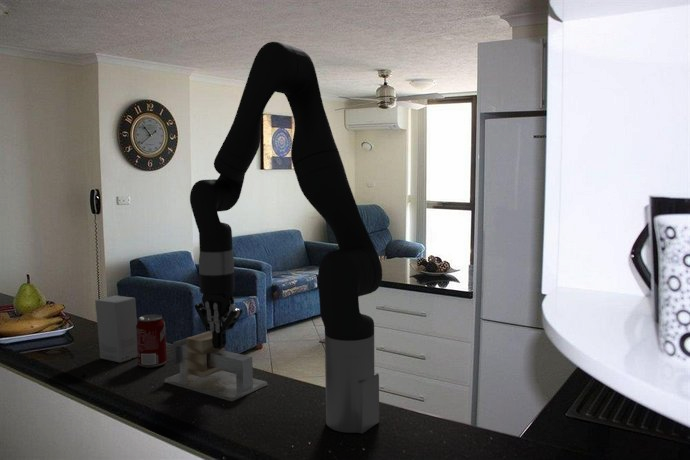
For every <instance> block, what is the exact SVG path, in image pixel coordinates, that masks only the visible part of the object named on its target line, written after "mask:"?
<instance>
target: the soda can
mask: <svg viewBox="0 0 690 460" xmlns="http://www.w3.org/2000/svg"><path fill="white" fill-rule="evenodd" d="M136 331H137V352H138V357H137V364H138V365H139V366H140V367H142V368H144V367H145V369H155V368H159V367H161V366H163V365H164V364H165V363H167V360H168V359H167V358H168V357H167V339H166V338H167V334H166V322H165V321H164V319H163V315H161V314H146V315H142V316H140V317H138V321H137V325H136Z"/></svg>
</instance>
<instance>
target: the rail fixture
mask: <svg viewBox="0 0 690 460" xmlns="http://www.w3.org/2000/svg"><path fill="white" fill-rule="evenodd" d="M189 337H190V336H189ZM189 337H185V338H181V339H180V340H176V341H173V342H172V350H173V364H175V365H178V364H179V373H177V374H174V375H172V376H168V377H165V378H164V383H166V384H170V385H173V386H177V387H180V388H184V389H187V390H190V391H193V392H194V391H195V392H197V393H201V394H204V395H208V396H212V397H215V398H219V399H222V400H226V401H228V402H234V401H236V400H238V399H241V398H243V397H245V396H247V395H249V394H251V393H253V392H255V391H258V390H260V389H263V388H264V387H266V386H268V381H266V380H261V379H257V378H254V374H253V373H254V370H253V356H249V355H246V354H241V353H236V352H232V351H227V350H225V351H224V350H219V349H218V350H215V351H212V352H210V353H207V354H206V357H207V366H211V367H215V368H219V369H223V370H221V371H219V372H216V373H214V374H211V375H209V376H206V377H199V376H195V375H191V374H188V371H187V346H186V338H189Z"/></svg>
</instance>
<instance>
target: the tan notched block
mask: <svg viewBox="0 0 690 460" xmlns="http://www.w3.org/2000/svg"><path fill="white" fill-rule="evenodd" d="M185 338H186V346H187V371H188V374H191V375H195V376H199V377H206V376H209V375H211V374H214V373H216V372H219V371H221V370H222V371H224V370H223V369H219V368H215V367H211V366H207V357H206V354H207V353H210V352H212V351H215V350H218V349H216V348H214V347H213V343H212V332H211V330H210V331H209V330H208V331H205V332H202V333H198V334H196V335H193V336H189V338H188V337H185ZM225 348H226V346H225V347H224V348H221V349H219V350H224V351H226V349H225Z"/></svg>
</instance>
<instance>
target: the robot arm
mask: <svg viewBox="0 0 690 460" xmlns="http://www.w3.org/2000/svg"><path fill="white" fill-rule="evenodd" d="M248 73H249V74H248V75H247V76H248V77H247V80H246V83H245V86H244V89H243V92H242V95H241V97H240V101H239V104H238V107H237V110H236V113H235V115H234V118H233V121H232V124H231V127H230V129H229V131H228V133H227V135H226V137H225V139H224V141H223V142H222V145H221V147H220V148H219V150H218V152H217V154H216V156H215V158H214V161H213V167H214V170H215V171H216V173H218V174H219V176H218V177H217V179H201V180H198V181H196V182H195V183H194V184H193V185H192V188H191V190H190V193H189V202H190V207H191V208H190V209H191V211H192V215H193V217H194V221H195V225H196V228H197V229H198V237H199V238H198V241H199V242H198V243H199V257H198V271H199V273H198V275H199V277H198V279H199V292H200V293H201V294H202V297H201V301H200V302H199V303H197V304H196V303H195V305H194V309H195V311H196V313H197V315H198V318H200V320H201V323H202V324H203V327H205V328H206V329H210V332H212V343H213V347H214V348H216V349H221V348H224V347H225V348H226V345H227V334H226V333H227V331H229V330H233V328H234V327H235V325H236V323H237V322H238V321H239V318H240V317H241V315H242V313H243V309H242V308H241V307H240V308H238V307H236V305H235V299H234V297H233V294H234V292H235V290H236V285H235V284H236V282H235V257H234V253H233V252H234V251H233V231H232V227H231V225H230V224H228V223H226V222H221V220H220V216H219V214H218V212H227V211H229V210H230V209H232V208H233V207H234V206H235V205H236V204H237V203H238V201H239V199H240V196H241V194H242V190H243V186H244V185H243V184H244V181H245V175H246V173H247V172H248V169H249V168H250V166H251V164H252V162H253V160H254V159H255V157H256V155H257V153H258V151H259V148H260V144H261V139H262V121H263V120H262V119H263V115H264V112H265V109H266V107H267V105H268V103H269V102H270V100H271V98H273V96H274V94H275V93H279V94H283V95H285V97H286V100H287V102H288V105H289V107H290V110H291V113H292V117H293V120H294V122H293V123H294V129H293V130H294V131H293V137H292V142H291V149H290V156H291V157H290V158H291V163H292V167H293V170H294V174H295V177H296V179H297V183H298V186H299V188H300V190H301V193H302V194H303V196H304V197H305V199H306V200H307V201H308V203H310V205H311V206H312V207H313V208H314V210H316V212H317V213H318V214H319V215H320V216H321V217H322V218H323V220H324V221H325V223H327V225H328V226H329V228H330V229H331V230H332V234H333V236H334V238H335V241H336V242H337V243H336V244H337V246H338V249H335V250H331V251H328V252H326V253H325V255H323V257H322V259H321V260H320V263H319V266H318V273H317V274H318V275H317V276H318V277H317V279H318V280H317V285H318V299H319V300H318V301H319V313H320V318H321V321H322V323H323V326H324V360H325V361H324V364H325V365H324V369H325V372H324V373H325V379H324V380H325V381H324V382H325V423H326V424H325V425H326V426H327V427H328V428H329V429H331V430H334V431H335V432H336V431H337V432H340V433H348V434H349V433H359V434H365V432H367V431H369V430H370V429H371V428H373V427H374V426H376V425H377V424H379V422H380V375H379V373H377V372H375V322H374V319H373V318H372V316H369V315H367V314H363V313H361V310H360V304H359V303H360V302H359V297H362V296H366V295H370V294H372V293H375V292H376V291H377V290H378V289H379V288H380V286H381V285H382V280H383V268H382V263H381V260H380V257H379V254H378V252H377V249H376V247H375V245H374V242H373V241H372V238H371V236H370V235H369V232H368V229H367V228H366V225H365V223H364V221H363V219H362V216H361V214H360V210H359V208H358V206H357V205H358V204H357V202H356V199H355V195H354V194H353V191H352V187H351V186H350V183H349V180H348V176H347V173H346V169H345V167H344V164H343V160H342V157H341V154H340V151H339V148H338V146H337V144H336V141H335V138H334V136H333V133H332V129H331V126H330V122H329V119H328V116H327V113H326V111H325V106H324V103H323V99H322V93H321V90H320V85H319V81H318V76H317V72H316V67H315V64H314V62H313V60H312V58H311V56H310V55H309V54H308V53H307V52H306V51H304V50H303V49H301V48H298V47H296V46H292V45H289V44H286V43H283V42H280V41H270V42H267V43H265V44H264V45H263V46H261V47H260V48H259V50H258V51H257V54H256V56H255V58H254V60H253V62H252V64H251V68H250V70H249V72H248Z"/></svg>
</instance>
